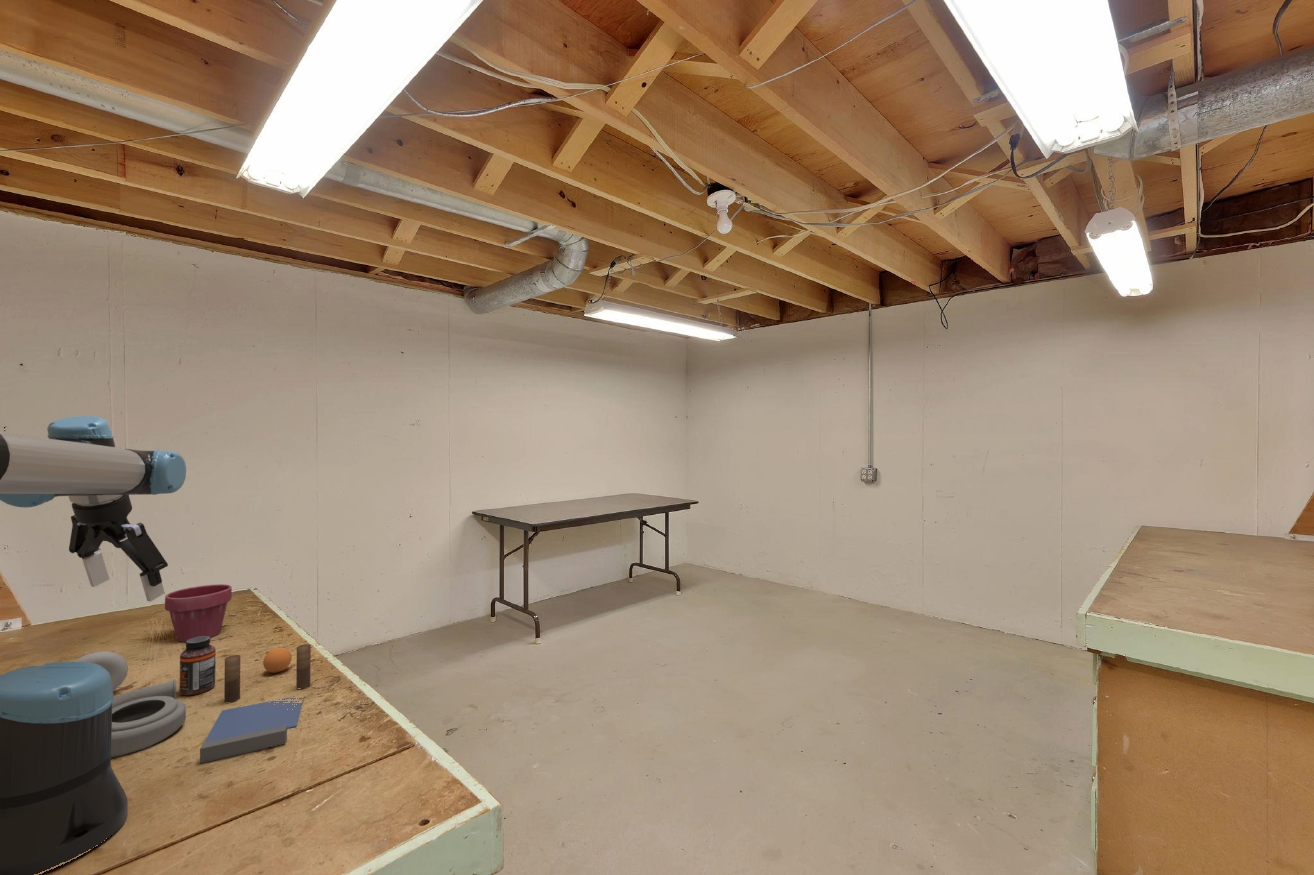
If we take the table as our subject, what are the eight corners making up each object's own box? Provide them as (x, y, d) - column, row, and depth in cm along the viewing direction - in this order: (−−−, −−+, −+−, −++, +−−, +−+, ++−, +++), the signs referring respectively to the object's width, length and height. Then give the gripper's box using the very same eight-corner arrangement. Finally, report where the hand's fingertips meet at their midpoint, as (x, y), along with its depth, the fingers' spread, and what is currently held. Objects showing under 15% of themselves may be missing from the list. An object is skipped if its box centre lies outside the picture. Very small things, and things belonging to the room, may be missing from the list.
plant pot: (182, 629, 152) (183, 585, 152) (240, 624, 156) (240, 581, 156) (152, 648, 138) (152, 600, 138) (216, 642, 142) (216, 595, 142)
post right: (309, 687, 116) (310, 647, 116) (295, 690, 115) (295, 649, 115) (310, 682, 119) (311, 643, 119) (297, 685, 117) (297, 645, 118)
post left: (238, 701, 110) (238, 658, 110) (222, 703, 109) (223, 660, 109) (241, 695, 113) (241, 653, 113) (225, 698, 111) (226, 656, 111)
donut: (58, 711, 106) (59, 661, 106) (59, 705, 108) (59, 657, 108) (128, 693, 113) (129, 647, 113) (127, 688, 116) (128, 643, 116)
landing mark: (296, 726, 101) (296, 725, 101) (202, 746, 94) (202, 745, 94) (304, 695, 113) (304, 694, 113) (222, 711, 106) (222, 710, 106)
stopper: (285, 744, 95) (285, 730, 95) (199, 763, 89) (199, 748, 89) (286, 738, 97) (287, 725, 97) (203, 757, 91) (203, 742, 91)
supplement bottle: (174, 692, 114) (174, 640, 114) (207, 681, 119) (208, 632, 119) (186, 699, 111) (187, 646, 111) (220, 687, 116) (221, 636, 116)
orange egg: (289, 673, 123) (290, 650, 123) (261, 678, 121) (261, 654, 121) (293, 664, 128) (293, 642, 128) (265, 669, 126) (265, 646, 126)
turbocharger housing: (64, 781, 87) (186, 745, 97) (64, 743, 86) (186, 711, 96) (78, 732, 99) (184, 704, 109) (77, 698, 99) (184, 674, 109)
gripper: (176, 500, 100) (198, 591, 107) (70, 477, 103) (99, 566, 111) (132, 519, 93) (159, 615, 101) (20, 493, 97) (55, 587, 104)
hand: (128, 590), depth 106 cm, fingers open, 13 cm apart
